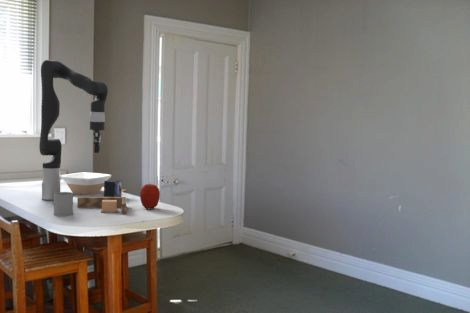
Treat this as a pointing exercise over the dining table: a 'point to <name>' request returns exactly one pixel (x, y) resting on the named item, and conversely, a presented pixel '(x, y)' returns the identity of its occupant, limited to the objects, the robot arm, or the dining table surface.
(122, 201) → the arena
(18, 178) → the dining table surface
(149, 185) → the apple
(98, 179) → the bowl
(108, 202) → the block
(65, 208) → the cup
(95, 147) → the robot arm
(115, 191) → the small box
